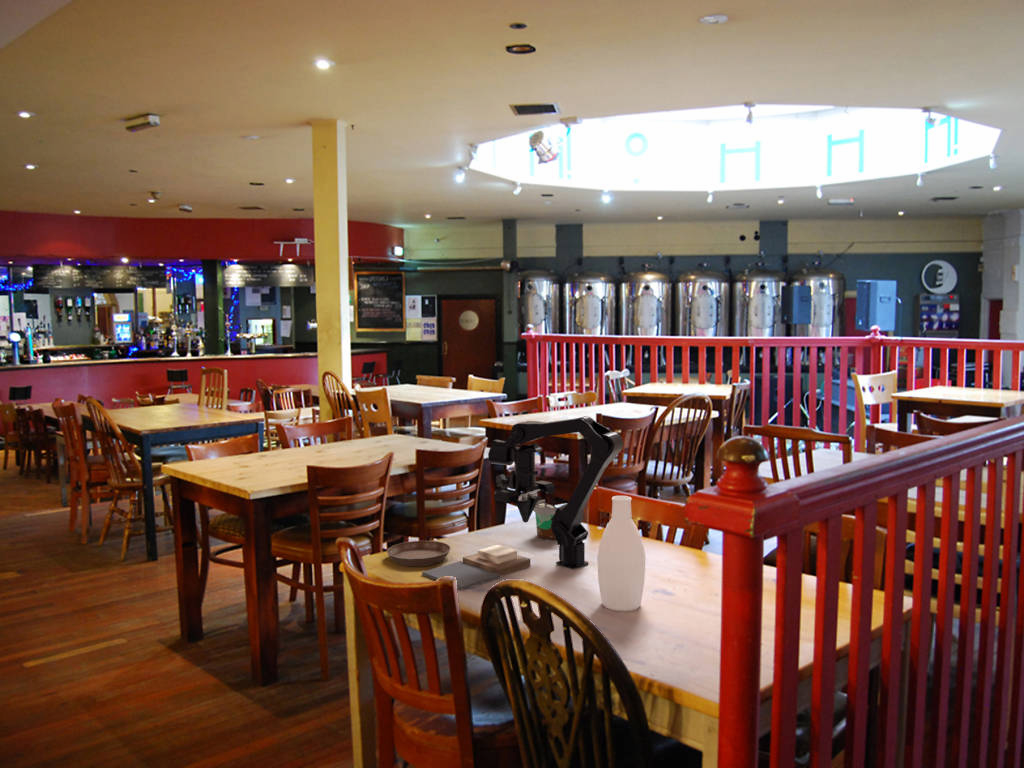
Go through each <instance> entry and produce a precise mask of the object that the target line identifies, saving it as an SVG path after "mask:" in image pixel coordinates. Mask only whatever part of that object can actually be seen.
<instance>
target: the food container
mask: <svg viewBox="0 0 1024 768" xmlns="http://www.w3.org/2000/svg"><path fill="white" fill-rule="evenodd" d="M557 508H558V507H556V506H555V505H553V504H549V503H547V502H546V499H539V501H538V502H537V504H536V506H535V508H534V510H533V512H534V514H535V523H536V536H537V538H539V539H542V540H546V539H548V540H547V541H556V538H555V535H554V534H553V532H552V529H551V523H552V520H550V519H551V518H553V516H554V514H555V511H556V509H557Z"/></svg>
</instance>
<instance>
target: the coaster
mask: <svg viewBox="0 0 1024 768" xmlns="http://www.w3.org/2000/svg"><path fill="white" fill-rule="evenodd" d="M477 552H478V557H479V558H482V559H485V560H488V561H491V562H494V563H497V564H500V563H503V562H506V561H510V560H513V559H516V558H517V555H518V550H515V549H513V548H509V547H506V546H503V545H498V544H495V545H492V546H489V547H485V548H481V549H478V551H477Z"/></svg>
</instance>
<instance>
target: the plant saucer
mask: <svg viewBox="0 0 1024 768" xmlns="http://www.w3.org/2000/svg"><path fill="white" fill-rule="evenodd" d="M451 549H452V548H451V546H450V544H447V543H446V542H441V541H438V540H437V541H436V540H434V541H433V540H414V541H413V540H412V541H406V542H401V543H398V544H394V545H392V546H391V547H389V548H387V550H386V554H387V555H388V557H389V558H390V559H391V560H392V561H393V562H394V563H395V564H397V565H400V566H404V567H423V566H424V567H425V566H431V565H436V564H438V563H440V562H442V561H444V560H445V559H446V557H447V556H448V554H449V553H450V550H451Z"/></svg>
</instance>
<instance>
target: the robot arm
mask: <svg viewBox="0 0 1024 768" xmlns="http://www.w3.org/2000/svg"><path fill="white" fill-rule="evenodd" d="M575 433H579V434H580V435H581V436H582V437H583V438H584V440H585V441H586V443H587V444H589V446H591V450H590V456H589V457H590V458H589V462H588V465H587V466H586V468H585V471H584V472H583V473H582V476H581V477H580V479H579V481H578V484H577V485H576V487H575V489H574V491H573V493H572V495H571V497H570V498H569V500H568V503H564V504H562V505H560V506H558V507H556V508H557V509H556V511H555V514H554V516H553V518H551V519H550V520H552V523H551V529H552V532H553V534H554V535H555V538H556V540H555V541H556V544H557V545H558V561H556V562H555V564H556V565H558V566H561V567H564V568H567V569H571V570H575V569H578V568H581V567H584V566H587V565H589V561H586V560H585V559H586V558H585V557H586V556H585V553H586V552H585V551H586V550H585V549H586V548H585V542H583V541H586V540H587V538H588V536H589V532H588V530H587V529H586V528H585V526H584V525H583V524H582V522H583V518H584V516H583V515H584V509H585V507H586V505H587V503H588V501H589V500H590V498H591V496H592V494H593V492H594V491H595V488H596V486H597V484H598V482H599V481H600V480H601V477H602V475H603V473H604V472H605V470H606V468H607V467H608V466H609V464H610V463H612V461H613V460H615V458H616V457H617V456H618V454H619V453H620V452H621V451H622V450H623V448H624V445H625V444H624V440H623V438H622V436H621V435H620V434H619V433H617V432H616V431H612V430H611V429H609V428H608V427H606V426H605V425H603V424H601V423H599V422H597V421H596V420H595V419H593V418H592V417H591V416H588V415H585V416H582V417H578V418H577V417H575V418H569V419H563V420H555V421H548V422H545V421H539V420H537V421H536V420H526V421H522V422H519V423H514V424H513V425H512V426H511V430H510V434H509V435H508V436H507V439H506V440H500V439H494V440H492V442H491V443H492V444H491V446H490V447H489V451H488V452H487V453H488V455H487V458H488V461H489V462H490V464H492V465H493V464H494V465H502V466H512V465H513V464H514V469H512V470H511V471H510V475H508V476H506V475H505V474H504V473H503V474H498V475H496V476H495V484H496V486H497V487H498V488H500V487H501V489H497V490H495V491H494V494H493V495H494V496H493V498H494V499H493V500H494V501H496V502H499V503H504V504H513V503H514V504H515V505H516V508H517V509H518V511H519V514H520V517H521V520H522V523H528V522H529V520H530V518H531V516H532V514H533V512H534V511H533V510H534V508H535V506H536V504H537V502H538V501H540V500H542V496H540V495H538V493H539V492H540V493H541V492H545V493H546V494H547V495H552V494H555V493H556V486H555V485H554V483H553V482H550V481H547V480H538V481H536V475H539V470H537V469H536V453H539V452H542V451H543V448H542V447H541V446H540V445H539V444H538V442H533V441H536V440H538V439H542V438H544V437H552V436H553V437H554V436H559V435H560V436H561V435H569V434H575ZM529 442H533V443H531V444H526V443H529ZM518 445H520V446H518Z"/></svg>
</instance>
